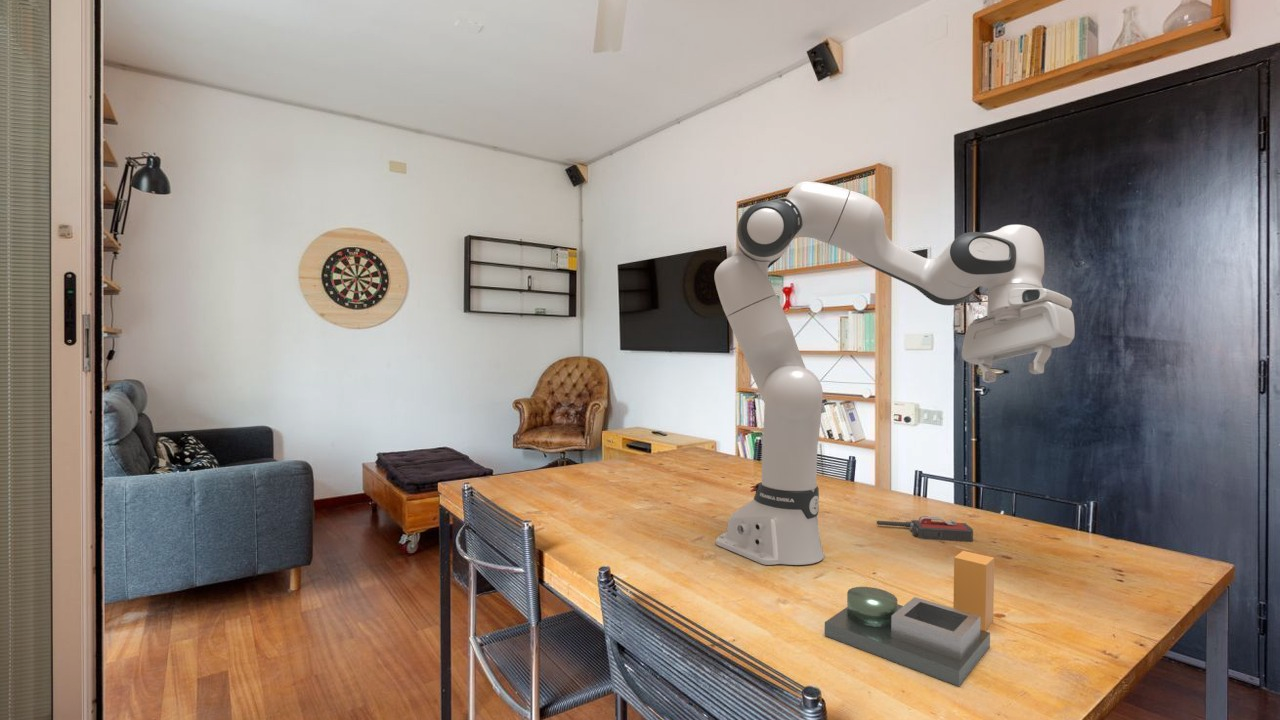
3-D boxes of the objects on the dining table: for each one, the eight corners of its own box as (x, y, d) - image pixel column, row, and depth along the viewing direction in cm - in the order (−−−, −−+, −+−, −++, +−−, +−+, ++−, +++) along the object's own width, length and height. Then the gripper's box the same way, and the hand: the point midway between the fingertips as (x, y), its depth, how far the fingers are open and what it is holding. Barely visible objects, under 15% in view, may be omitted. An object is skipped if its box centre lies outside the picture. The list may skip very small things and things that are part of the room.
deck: (824, 635, 85) (824, 601, 85) (865, 606, 95) (865, 576, 95) (958, 686, 72) (959, 646, 72) (989, 646, 82) (990, 611, 82)
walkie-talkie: (965, 532, 136) (875, 526, 140) (965, 513, 136) (875, 508, 140) (979, 544, 127) (883, 538, 131) (980, 524, 127) (883, 519, 131)
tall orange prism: (953, 621, 90) (954, 557, 90) (962, 612, 93) (963, 550, 93) (985, 631, 87) (986, 565, 87) (993, 621, 90) (994, 557, 90)
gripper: (956, 317, 117) (951, 381, 114) (1054, 285, 98) (1052, 362, 95) (980, 326, 119) (976, 390, 115) (1081, 297, 100) (1080, 372, 96)
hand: (1011, 377), depth 105 cm, fingers open, 8 cm apart
